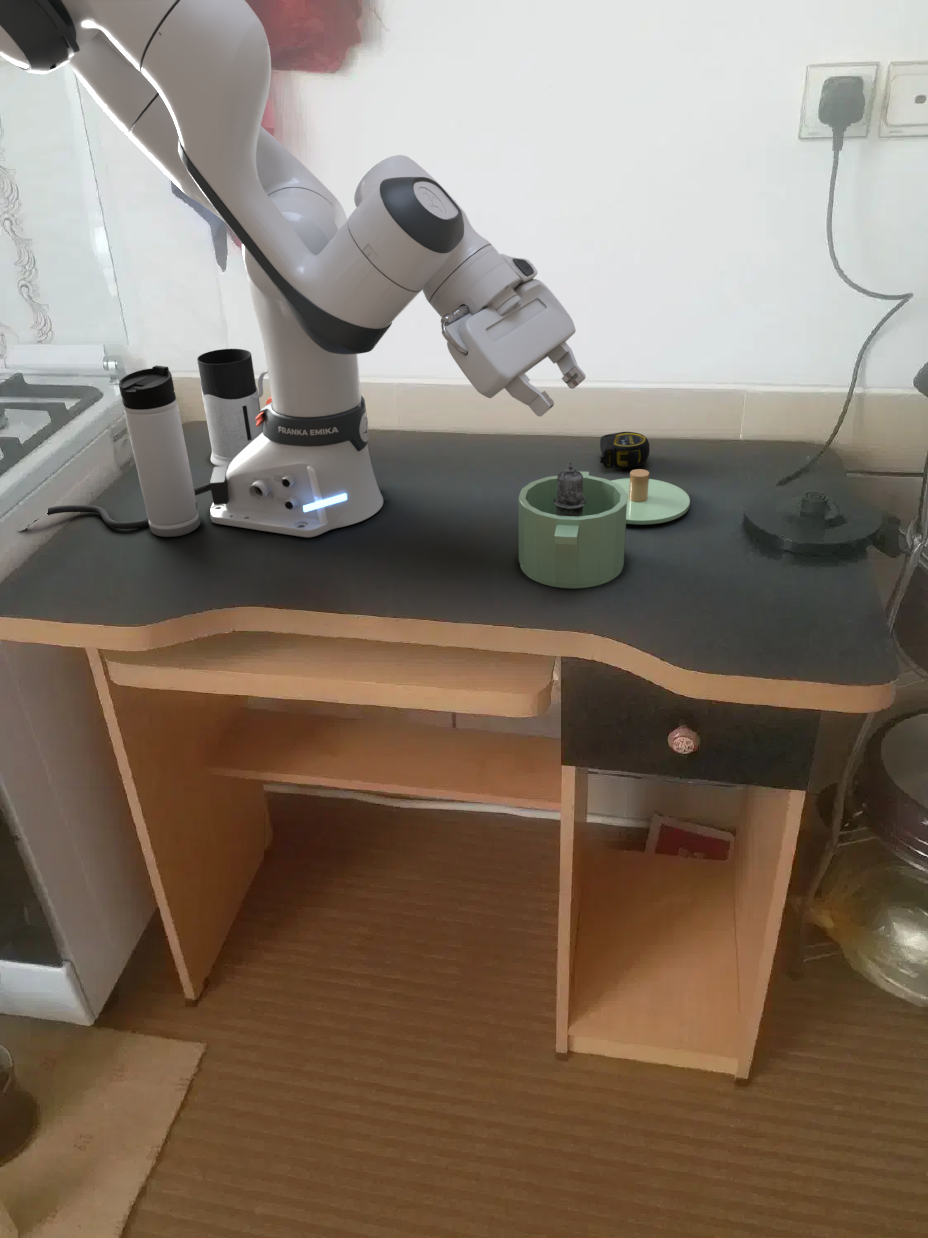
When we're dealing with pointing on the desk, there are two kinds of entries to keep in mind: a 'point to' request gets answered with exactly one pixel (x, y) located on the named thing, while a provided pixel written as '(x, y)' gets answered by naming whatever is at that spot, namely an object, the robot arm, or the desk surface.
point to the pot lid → (652, 499)
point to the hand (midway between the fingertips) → (564, 396)
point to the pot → (572, 534)
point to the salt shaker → (569, 493)
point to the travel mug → (160, 451)
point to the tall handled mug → (230, 401)
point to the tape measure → (624, 449)
